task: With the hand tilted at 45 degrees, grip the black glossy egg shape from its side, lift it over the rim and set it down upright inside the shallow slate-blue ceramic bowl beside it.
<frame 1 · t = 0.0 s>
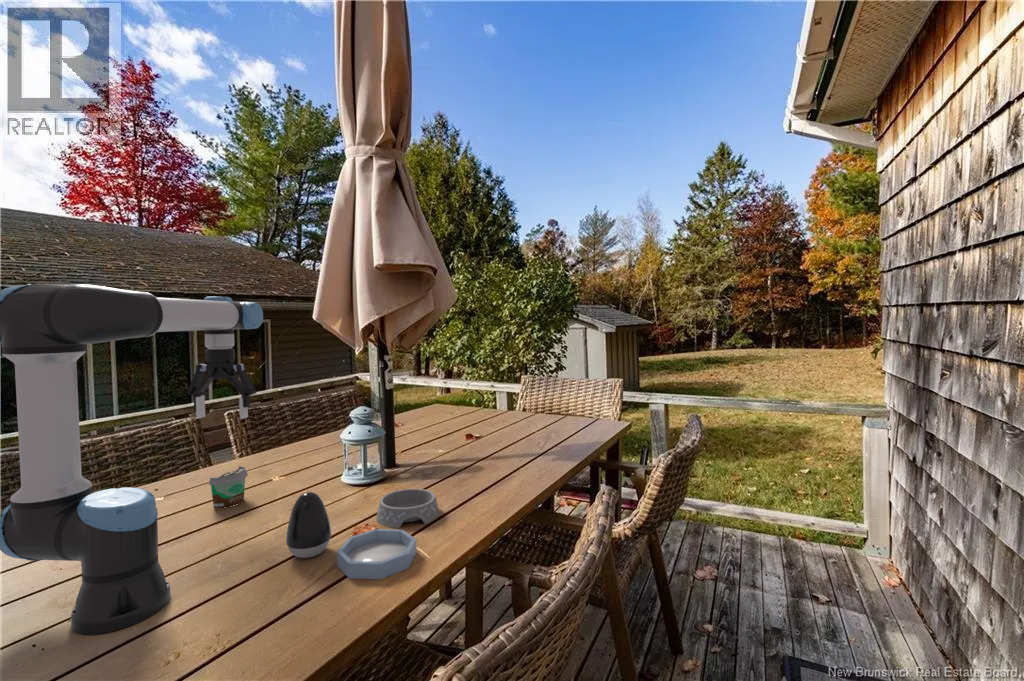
hand: (222, 417, 141), 28 cm above the table, tool pointing down, fingers open, 13 cm apart
dog bowl: (408, 515, 138), on the table
food container: (234, 504, 147), on the table
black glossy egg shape: (309, 554, 115), on the table
bowl: (377, 559, 112), on the table
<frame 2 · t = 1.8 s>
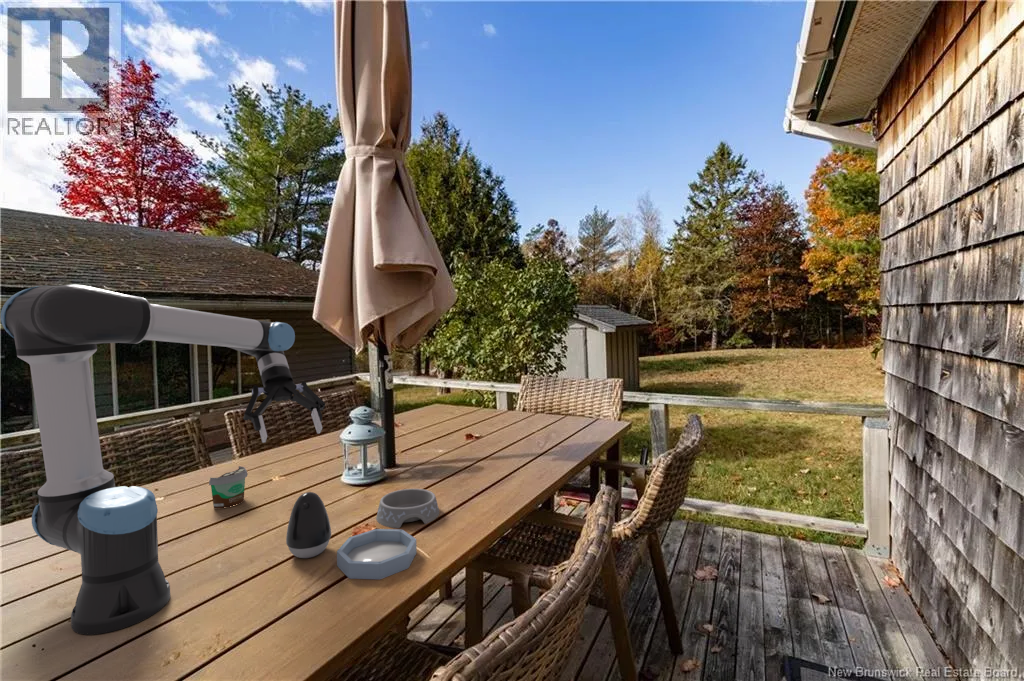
hand: (293, 435, 122), 28 cm above the table, tool tilted 45°, fingers open, 13 cm apart
nothing on the table moved.
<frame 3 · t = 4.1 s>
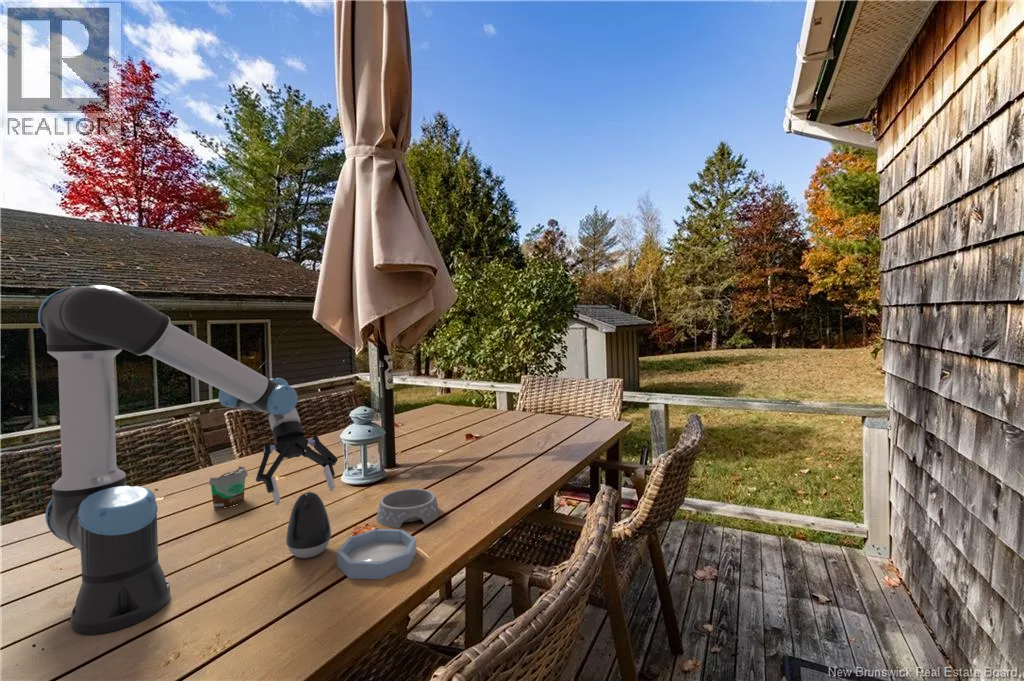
hand: (306, 495, 120), 12 cm above the table, tool tilted 45°, fingers open, 13 cm apart
nothing on the table moved.
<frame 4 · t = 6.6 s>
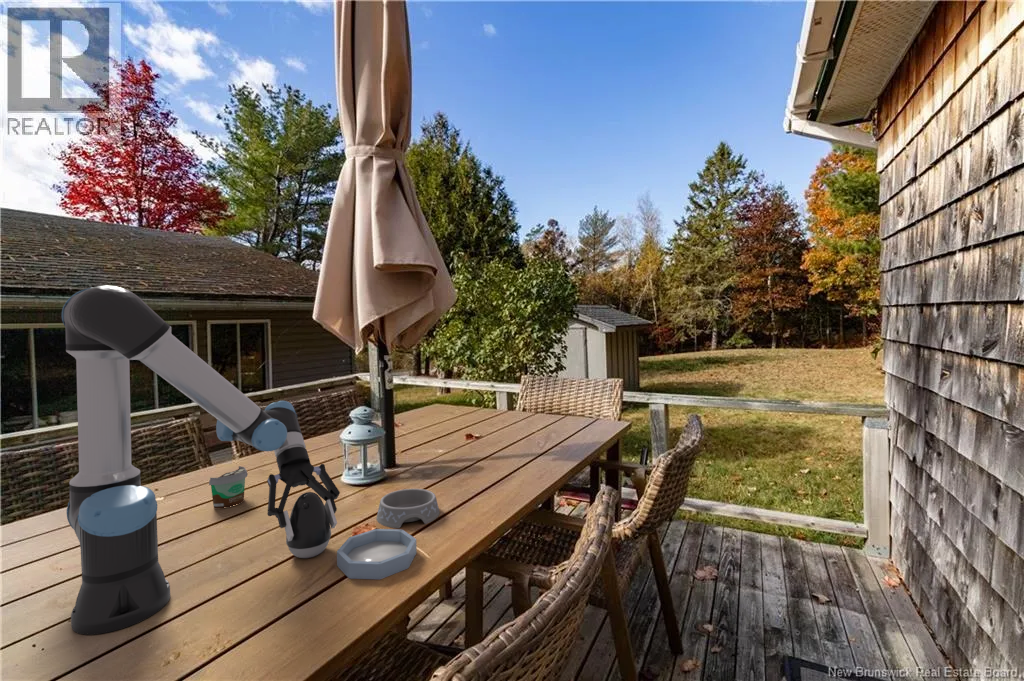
hand: (313, 532, 113), 6 cm above the table, tool tilted 45°, fingers closed on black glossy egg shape, 9 cm apart
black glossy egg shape: (309, 553, 115), on the table, touching gripper
everything else where it was.
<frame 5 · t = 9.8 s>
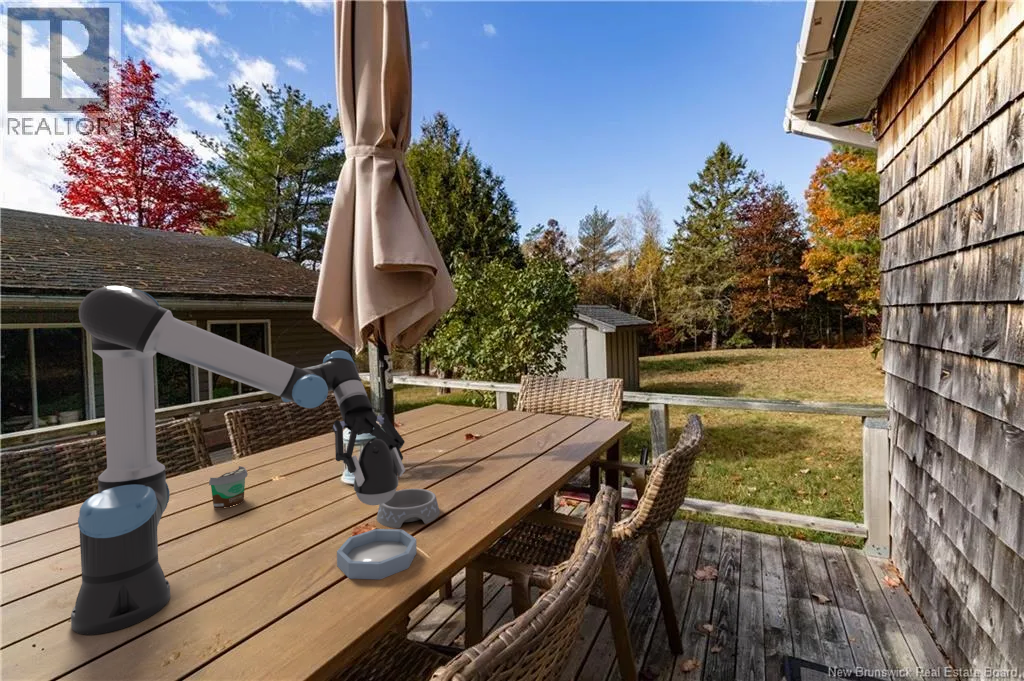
hand: (382, 478, 109), 21 cm above the table, tool tilted 45°, fingers closed on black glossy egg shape, 9 cm apart
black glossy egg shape: (376, 502, 112), point 14 cm above the table, touching gripper
everything else where it was.
when the fingers open (8 cm above the table, at t = 13.1 s): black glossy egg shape stays where it is, resting on bowl.
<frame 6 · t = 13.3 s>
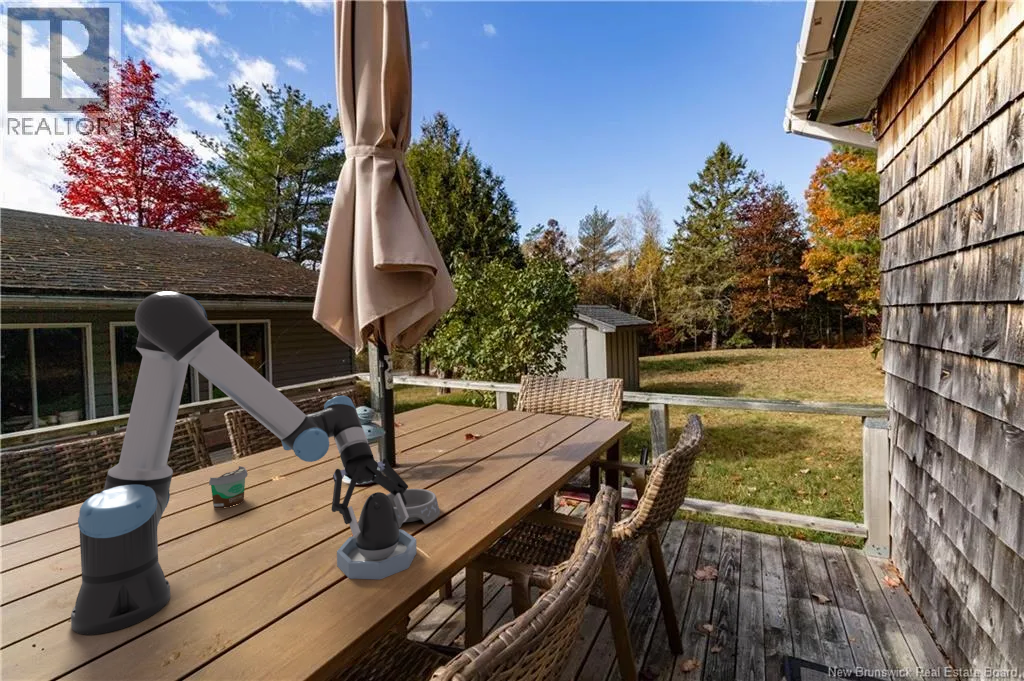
hand: (382, 527, 110), 9 cm above the table, tool tilted 45°, fingers open, 11 cm apart
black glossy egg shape: (378, 556, 112), point 1 cm above the table, touching bowl
everything else where it was.
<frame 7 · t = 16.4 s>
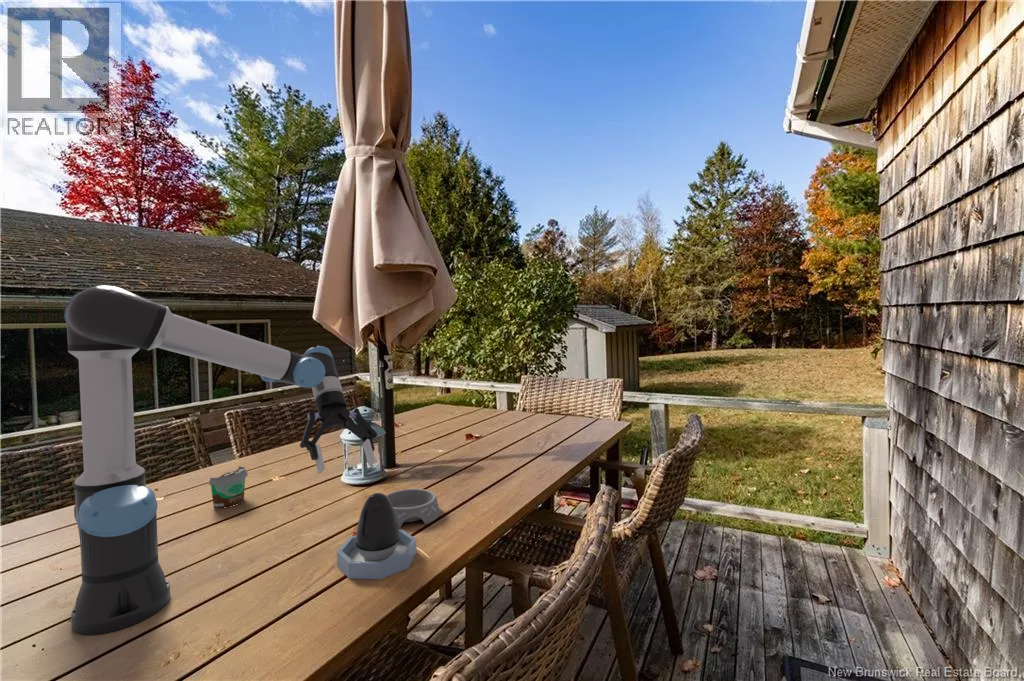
hand: (348, 467, 119), 20 cm above the table, tool tilted 40°, fingers open, 13 cm apart
nothing on the table moved.
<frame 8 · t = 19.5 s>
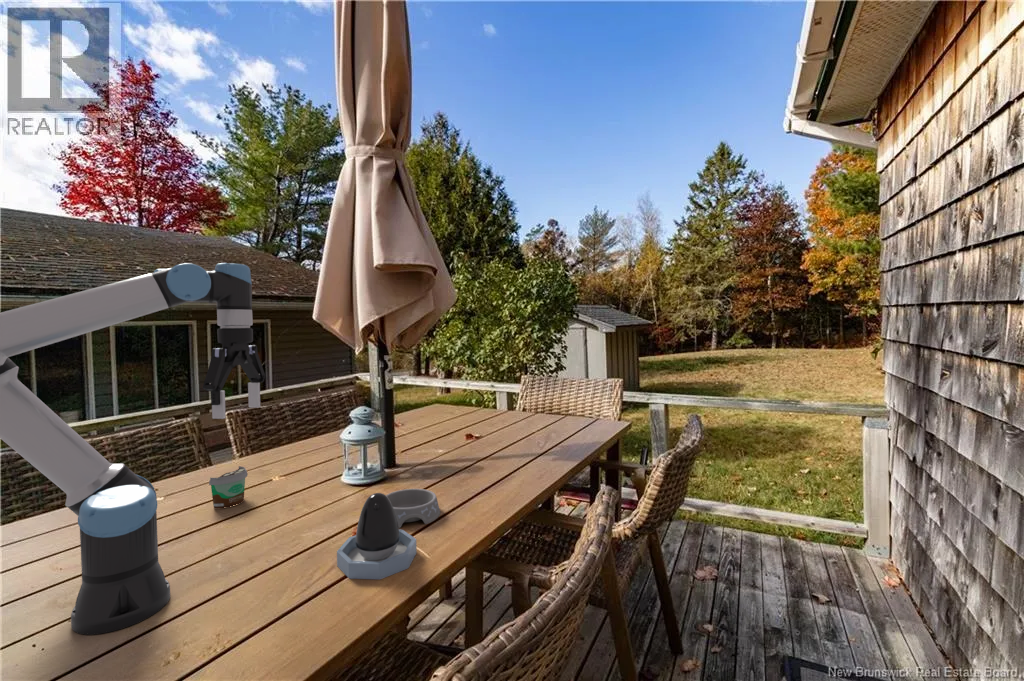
hand: (237, 412, 116), 35 cm above the table, tool pointing down, fingers open, 13 cm apart
nothing on the table moved.
at the end: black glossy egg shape inside the target area on the bowl (0.2 cm from its centre), point 0.6 cm above the bowl's base; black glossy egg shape tilted 0°; the gripper is holding nothing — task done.
